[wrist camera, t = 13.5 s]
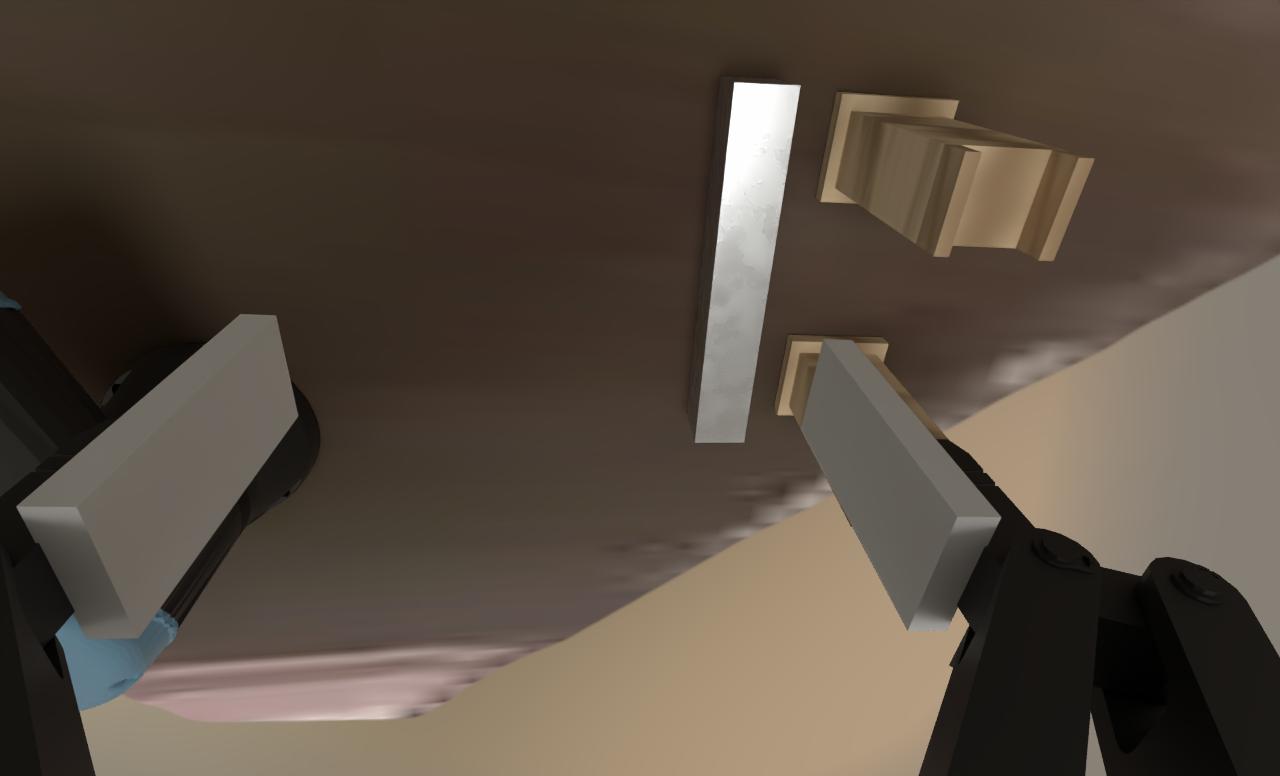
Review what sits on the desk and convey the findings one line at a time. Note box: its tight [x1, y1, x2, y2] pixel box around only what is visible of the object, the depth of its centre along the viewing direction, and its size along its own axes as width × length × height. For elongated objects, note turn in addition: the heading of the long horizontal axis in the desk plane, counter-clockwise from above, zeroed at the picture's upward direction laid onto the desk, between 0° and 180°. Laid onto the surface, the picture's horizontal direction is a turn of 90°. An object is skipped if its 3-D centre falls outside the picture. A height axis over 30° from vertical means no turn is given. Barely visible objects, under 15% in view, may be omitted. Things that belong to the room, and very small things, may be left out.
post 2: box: [816, 92, 1095, 261], centre depth 37 cm, size 8×7×16 cm
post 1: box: [774, 335, 948, 527], centre depth 46 cm, size 8×7×16 cm
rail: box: [687, 76, 800, 443], centre depth 46 cm, size 4×26×5 cm, turn 177°
